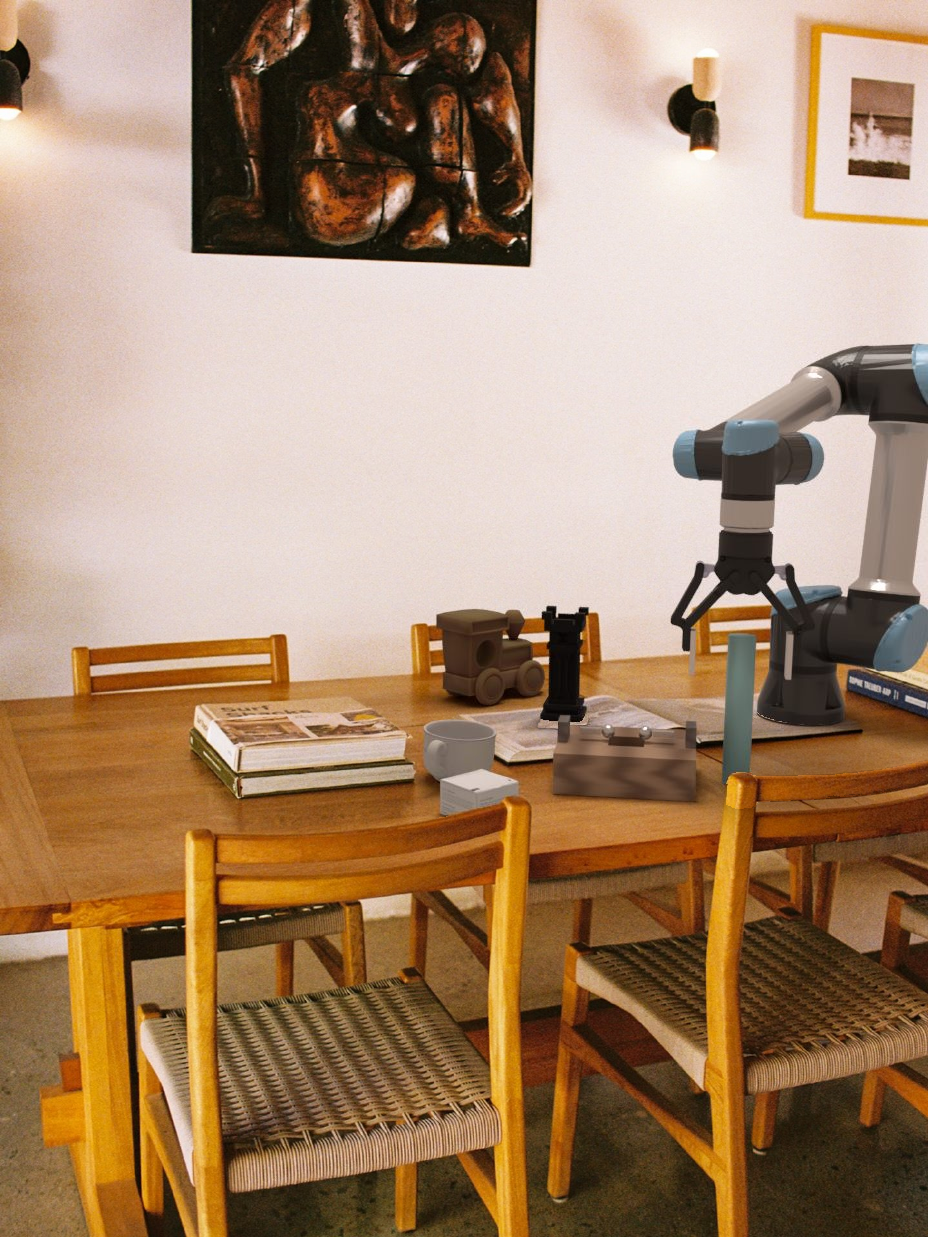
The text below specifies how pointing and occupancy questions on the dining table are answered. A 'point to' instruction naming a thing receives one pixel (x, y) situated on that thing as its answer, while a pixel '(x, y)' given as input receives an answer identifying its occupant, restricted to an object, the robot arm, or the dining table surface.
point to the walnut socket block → (625, 763)
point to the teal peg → (738, 704)
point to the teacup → (457, 747)
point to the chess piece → (564, 664)
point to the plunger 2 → (654, 733)
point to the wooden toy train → (487, 655)
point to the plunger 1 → (599, 730)
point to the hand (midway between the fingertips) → (739, 675)
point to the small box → (474, 791)
